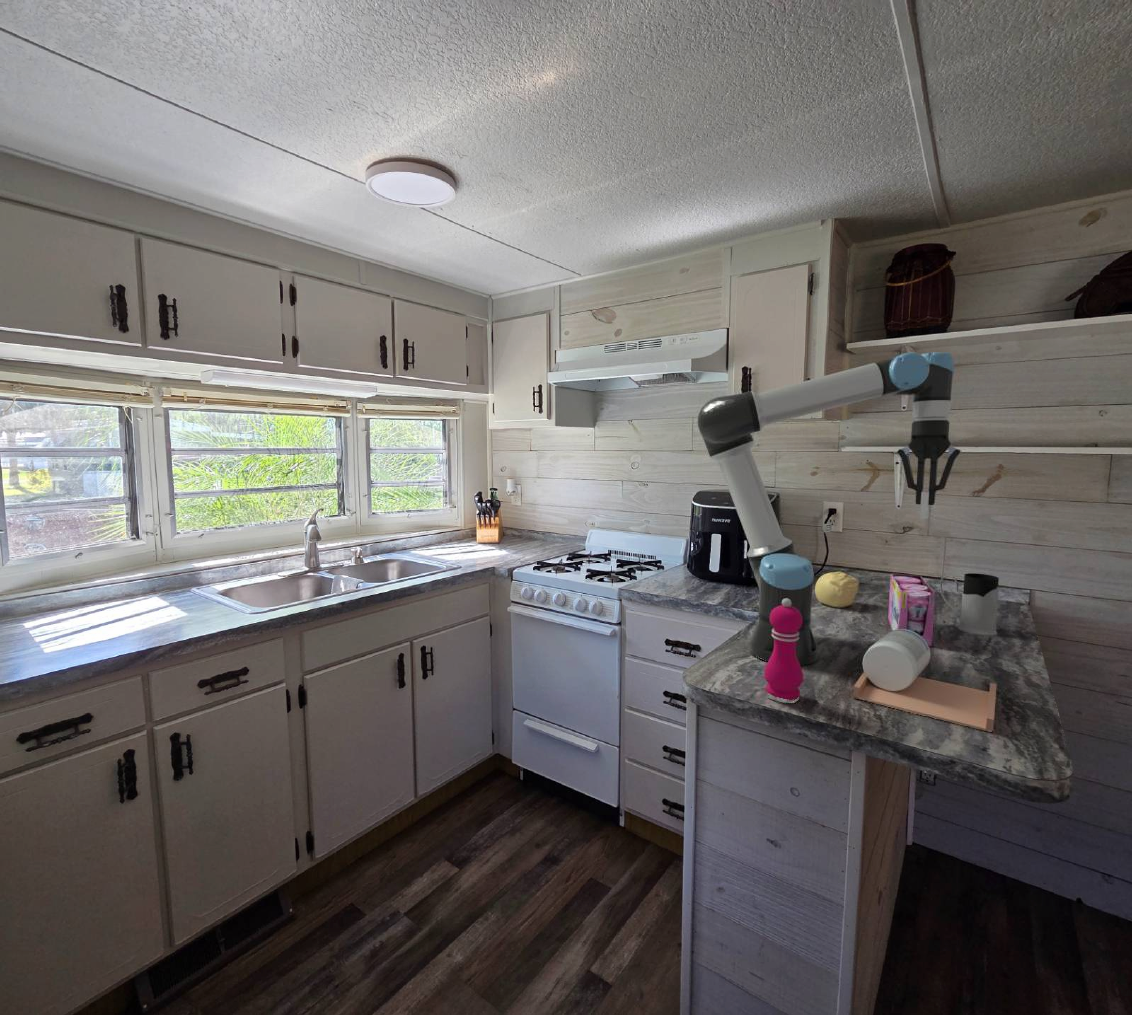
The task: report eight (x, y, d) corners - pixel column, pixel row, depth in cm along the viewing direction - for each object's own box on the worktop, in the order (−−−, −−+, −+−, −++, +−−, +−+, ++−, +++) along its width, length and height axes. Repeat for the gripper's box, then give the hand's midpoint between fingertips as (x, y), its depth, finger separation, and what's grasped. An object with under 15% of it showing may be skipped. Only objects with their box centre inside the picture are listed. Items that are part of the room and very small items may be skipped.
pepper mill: (802, 707, 107) (807, 605, 105) (762, 701, 109) (766, 601, 107) (801, 692, 113) (806, 595, 111) (764, 687, 116) (767, 592, 114)
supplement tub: (878, 628, 126) (856, 643, 116) (926, 627, 120) (908, 643, 109) (887, 671, 126) (866, 690, 115) (936, 673, 119) (918, 693, 109)
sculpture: (844, 612, 170) (846, 577, 169) (807, 603, 180) (809, 570, 179) (863, 606, 177) (865, 572, 176) (826, 598, 186) (828, 566, 185)
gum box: (933, 648, 139) (937, 595, 138) (897, 644, 142) (900, 591, 141) (918, 621, 161) (921, 575, 159) (887, 618, 164) (889, 572, 163)
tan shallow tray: (872, 669, 125) (872, 658, 125) (995, 696, 112) (996, 684, 112) (853, 698, 111) (853, 686, 110) (992, 733, 97) (994, 719, 97)
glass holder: (989, 637, 147) (993, 581, 146) (930, 623, 159) (933, 571, 157) (1002, 631, 152) (1007, 577, 150) (944, 618, 164) (948, 568, 162)
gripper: (965, 419, 132) (957, 519, 135) (901, 421, 140) (895, 515, 143) (962, 418, 127) (955, 522, 129) (896, 420, 135) (890, 517, 137)
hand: (924, 518), depth 136 cm, fingers closed
